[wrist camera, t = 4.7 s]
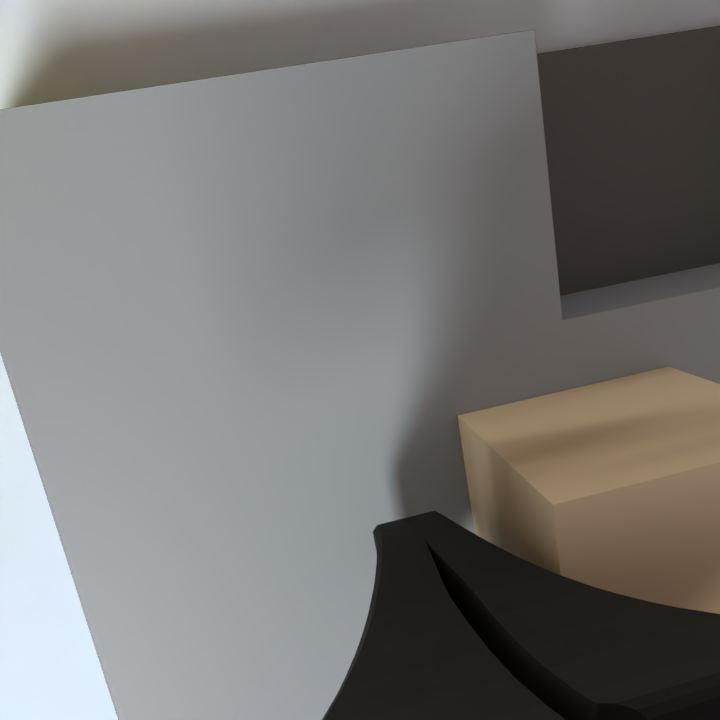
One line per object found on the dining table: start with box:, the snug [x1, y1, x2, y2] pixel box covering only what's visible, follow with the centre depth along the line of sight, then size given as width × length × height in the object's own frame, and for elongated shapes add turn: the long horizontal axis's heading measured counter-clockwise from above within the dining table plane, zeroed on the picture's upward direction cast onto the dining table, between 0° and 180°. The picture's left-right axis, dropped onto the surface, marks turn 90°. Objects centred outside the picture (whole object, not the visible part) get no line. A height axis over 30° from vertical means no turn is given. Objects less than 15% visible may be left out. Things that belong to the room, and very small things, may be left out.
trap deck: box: [0, 26, 720, 720], centre depth 14 cm, size 18×26×4 cm
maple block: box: [457, 367, 720, 614], centre depth 11 cm, size 4×4×4 cm
